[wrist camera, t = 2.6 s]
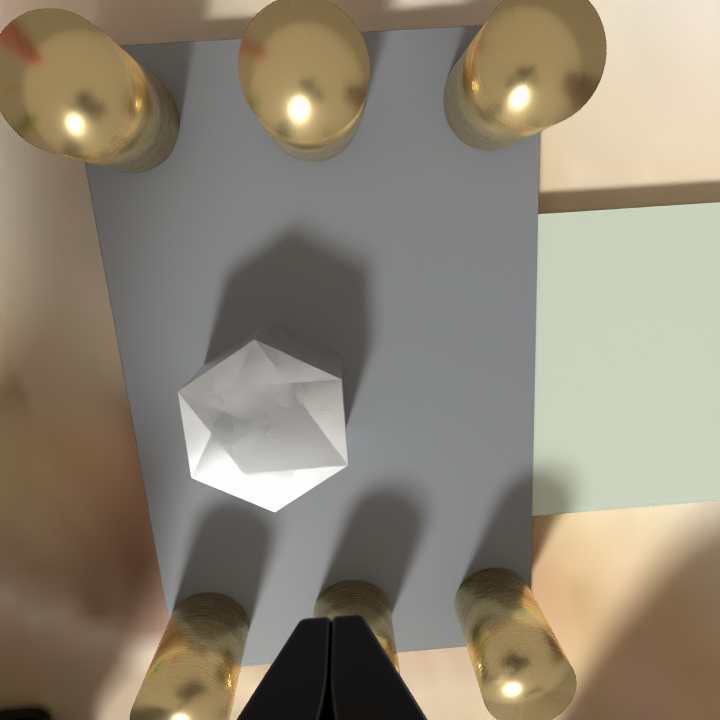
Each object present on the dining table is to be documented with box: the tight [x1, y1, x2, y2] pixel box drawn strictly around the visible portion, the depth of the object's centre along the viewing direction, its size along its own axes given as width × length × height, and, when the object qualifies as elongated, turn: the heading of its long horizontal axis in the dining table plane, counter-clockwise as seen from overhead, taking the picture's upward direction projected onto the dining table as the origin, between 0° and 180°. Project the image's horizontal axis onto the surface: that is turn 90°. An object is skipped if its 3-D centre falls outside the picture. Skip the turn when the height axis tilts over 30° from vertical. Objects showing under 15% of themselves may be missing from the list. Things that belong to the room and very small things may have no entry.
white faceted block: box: [178, 321, 348, 512], centre depth 16 cm, size 5×5×3 cm
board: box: [85, 25, 540, 666], centre depth 18 cm, size 14×22×1 cm, turn 4°
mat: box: [532, 202, 720, 516], centre depth 19 cm, size 8×11×1 cm
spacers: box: [0, 0, 606, 720], centre depth 16 cm, size 14×21×4 cm, turn 4°
